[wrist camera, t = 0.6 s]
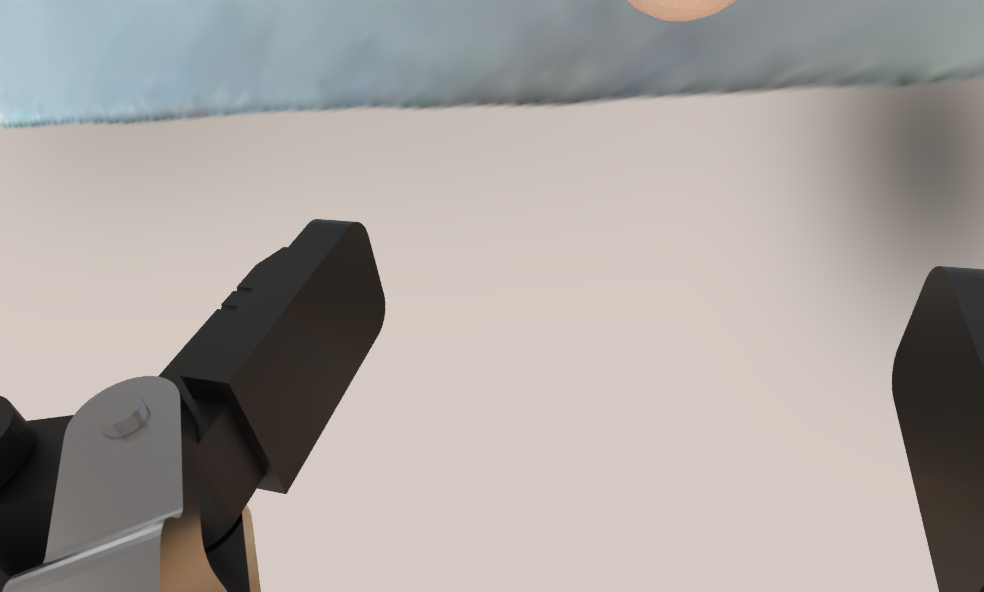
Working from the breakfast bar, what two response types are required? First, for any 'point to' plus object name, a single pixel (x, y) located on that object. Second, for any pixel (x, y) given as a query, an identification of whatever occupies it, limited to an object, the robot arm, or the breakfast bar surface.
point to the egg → (680, 8)
